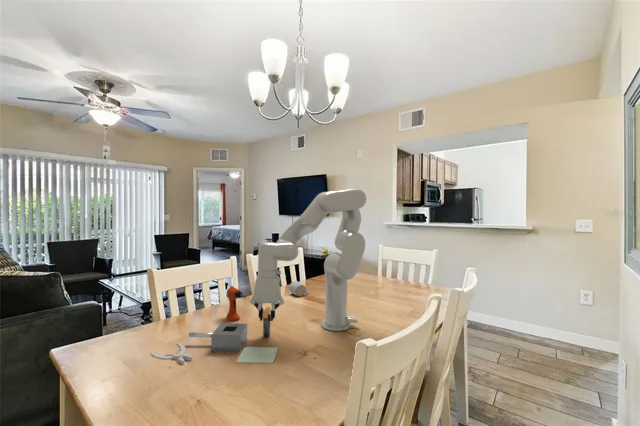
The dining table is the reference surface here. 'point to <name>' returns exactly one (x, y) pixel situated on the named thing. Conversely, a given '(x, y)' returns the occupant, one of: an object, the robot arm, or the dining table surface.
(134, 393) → the dining table surface
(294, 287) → the ceramic mug
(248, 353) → the mat
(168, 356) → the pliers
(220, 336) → the block
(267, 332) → the chuck key
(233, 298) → the toy drill
